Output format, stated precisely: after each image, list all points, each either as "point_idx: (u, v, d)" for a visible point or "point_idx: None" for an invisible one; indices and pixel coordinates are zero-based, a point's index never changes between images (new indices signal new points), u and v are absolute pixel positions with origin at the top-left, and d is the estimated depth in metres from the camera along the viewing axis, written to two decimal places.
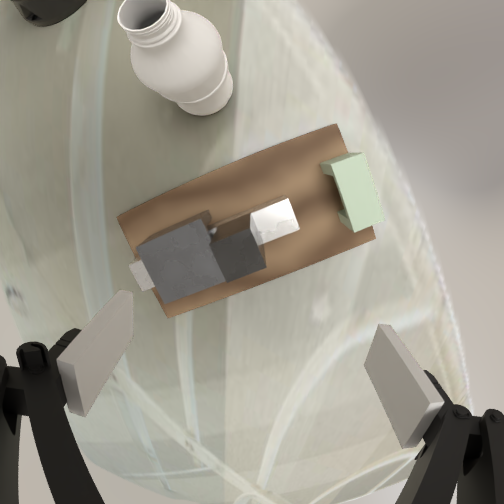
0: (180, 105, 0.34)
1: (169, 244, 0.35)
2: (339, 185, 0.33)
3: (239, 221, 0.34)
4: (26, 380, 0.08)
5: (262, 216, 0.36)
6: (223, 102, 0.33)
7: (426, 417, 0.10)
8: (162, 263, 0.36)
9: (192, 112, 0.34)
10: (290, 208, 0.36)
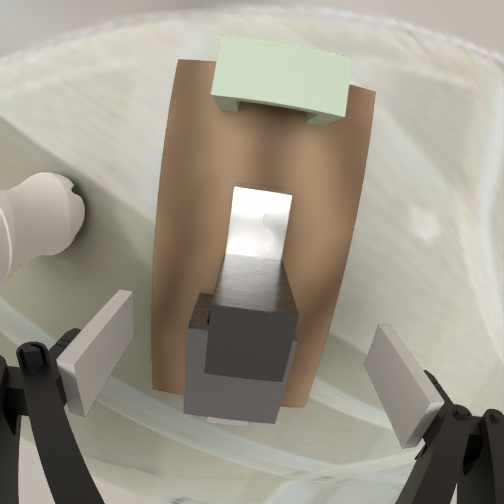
0: (51, 254, 0.23)
1: (201, 380, 0.22)
2: (252, 97, 0.17)
3: None
4: (26, 380, 0.08)
5: (239, 239, 0.22)
6: (65, 202, 0.21)
7: (426, 417, 0.10)
8: (220, 399, 0.23)
9: (62, 246, 0.23)
10: (251, 192, 0.21)
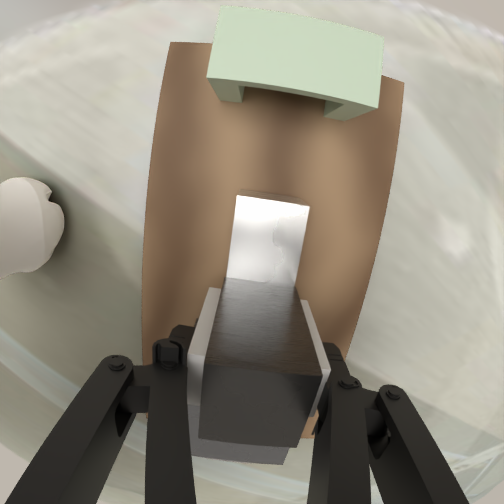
0: (26, 271, 0.19)
1: (198, 422, 0.18)
2: (260, 81, 0.13)
3: None
4: (155, 372, 0.10)
5: (243, 261, 0.17)
6: (38, 212, 0.17)
7: None
8: None
9: (37, 263, 0.19)
10: (259, 201, 0.16)
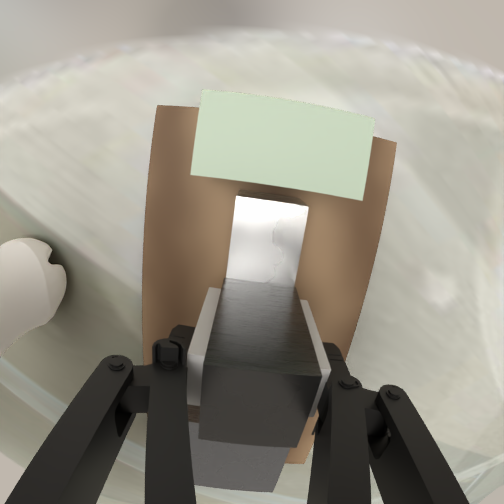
0: None
1: (197, 460, 0.19)
2: (244, 178, 0.14)
3: None
4: (155, 372, 0.10)
5: (243, 261, 0.17)
6: (41, 279, 0.19)
7: None
8: (217, 474, 0.20)
9: (44, 321, 0.20)
10: (258, 202, 0.16)
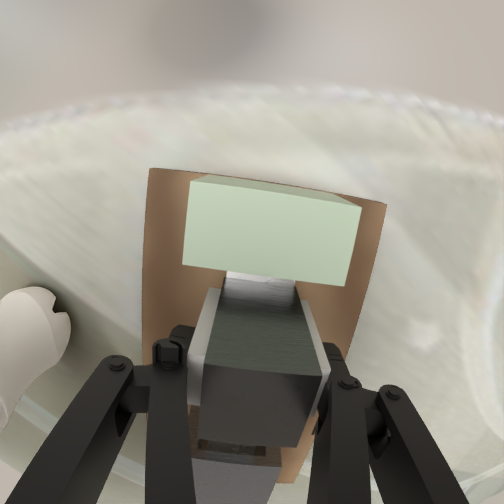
0: None
1: (195, 486, 0.21)
2: (232, 269, 0.15)
3: None
4: (155, 373, 0.10)
5: None
6: (48, 330, 0.20)
7: None
8: (213, 497, 0.21)
9: (53, 365, 0.21)
10: None
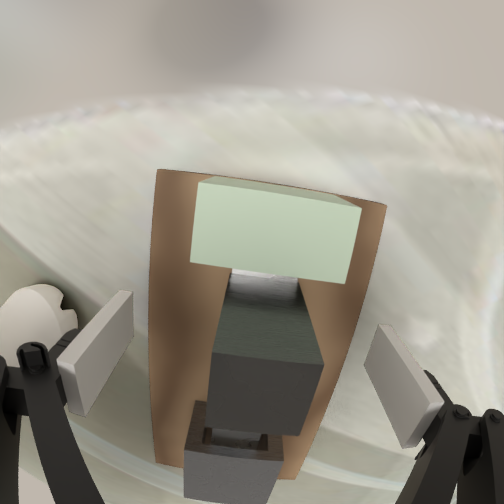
0: None
1: (198, 480, 0.21)
2: (238, 267, 0.16)
3: None
4: (26, 380, 0.08)
5: None
6: (56, 327, 0.21)
7: (426, 417, 0.10)
8: (216, 492, 0.22)
9: None
10: None
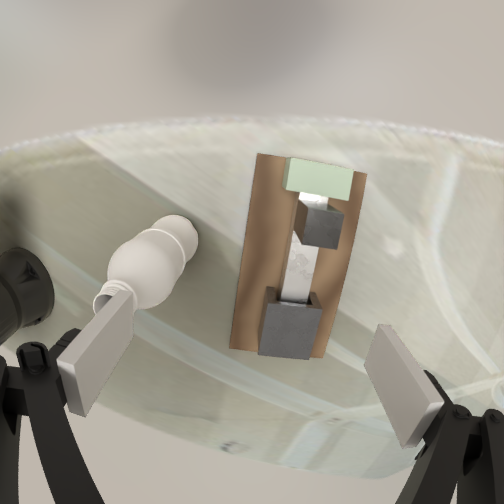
0: None
1: (271, 332, 0.44)
2: (305, 192, 0.38)
3: (299, 211, 0.38)
4: (26, 380, 0.08)
5: None
6: (194, 235, 0.43)
7: (426, 417, 0.10)
8: (280, 344, 0.44)
9: (188, 260, 0.44)
10: None
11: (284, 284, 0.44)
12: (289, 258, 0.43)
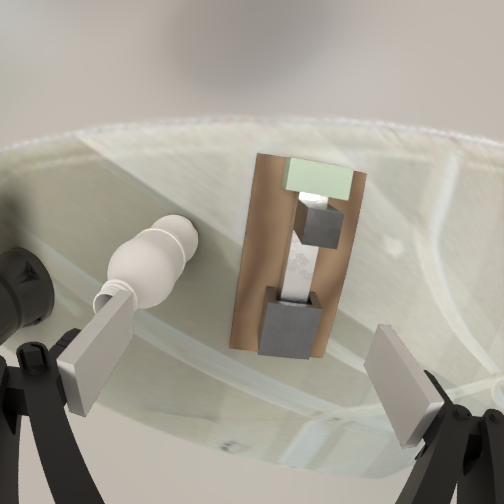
0: None
1: (271, 332, 0.44)
2: (305, 191, 0.38)
3: (299, 211, 0.38)
4: (26, 380, 0.08)
5: None
6: (194, 235, 0.43)
7: (426, 417, 0.10)
8: (280, 343, 0.44)
9: (188, 259, 0.44)
10: None
11: (284, 284, 0.44)
12: (289, 258, 0.43)
